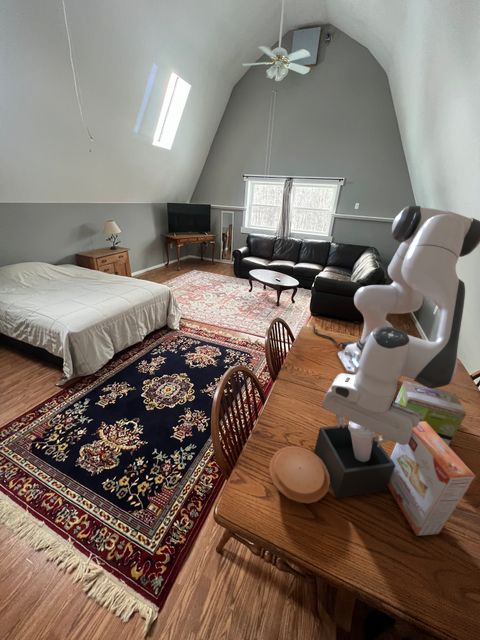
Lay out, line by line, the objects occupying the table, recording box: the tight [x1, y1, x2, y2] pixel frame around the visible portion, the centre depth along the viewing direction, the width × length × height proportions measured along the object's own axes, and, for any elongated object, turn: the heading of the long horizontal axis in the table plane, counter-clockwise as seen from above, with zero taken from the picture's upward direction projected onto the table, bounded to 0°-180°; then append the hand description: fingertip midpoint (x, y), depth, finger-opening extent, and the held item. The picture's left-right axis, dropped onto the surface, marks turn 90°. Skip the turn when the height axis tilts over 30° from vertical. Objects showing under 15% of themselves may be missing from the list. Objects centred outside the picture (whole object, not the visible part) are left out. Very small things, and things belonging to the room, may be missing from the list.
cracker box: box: [386, 422, 476, 537], centre depth 62 cm, size 14×6×21 cm, turn 5°
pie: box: [268, 445, 331, 505], centre depth 70 cm, size 16×16×5 cm
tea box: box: [394, 380, 467, 446], centre depth 85 cm, size 15×10×15 cm, turn 68°
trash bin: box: [313, 423, 395, 499], centre depth 72 cm, size 14×14×10 cm
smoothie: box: [348, 421, 377, 462], centre depth 68 cm, size 6×6×14 cm
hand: (358, 435), depth 69 cm, fingers open, 7 cm apart
